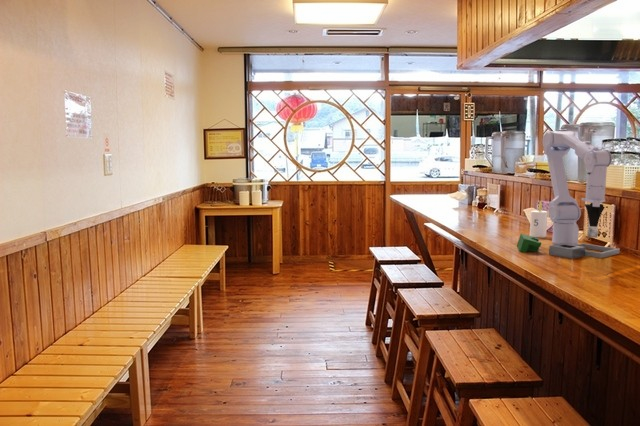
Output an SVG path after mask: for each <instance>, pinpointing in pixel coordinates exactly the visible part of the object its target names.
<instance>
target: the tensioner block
mask: <svg viewBox="0 0 640 426" xmlns="http://www.w3.org/2000/svg"><path fill="white" fill-rule="evenodd" d="M548 248H549V249H548V255H549V256H556V257H559V258H566V259H572V260H573V259H577V258H582V257H585V256H586V255H585V250H586V248H585V247H583V246H577V245H573V244H572V245H571V244H565V243H561V244H551V245H549V246H548Z"/></svg>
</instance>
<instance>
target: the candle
mask: <svg viewBox="0 0 640 426" xmlns="http://www.w3.org/2000/svg"><path fill="white" fill-rule="evenodd" d="M548 214H549V211H548V210H547V211H546V210H543V202H542V200H540V201H539V203H538V210H531V211H530V225H529V226H530V227H529V236H532V237H535V238H546V237H547V227H548Z"/></svg>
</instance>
